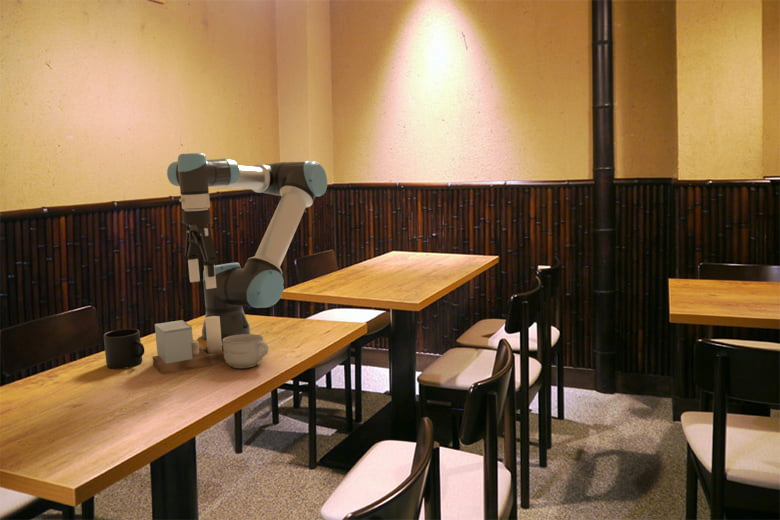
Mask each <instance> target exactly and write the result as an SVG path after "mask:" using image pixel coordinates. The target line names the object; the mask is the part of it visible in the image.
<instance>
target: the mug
mask: <svg viewBox="0 0 780 520" xmlns="http://www.w3.org/2000/svg"><path fill="white" fill-rule="evenodd" d="M103 343H104V344H103V345H104V353H105V364H106V367H107V368H109V369H113V370H118V369H119V370H123V369H129V368H132V367H136V366H138V365H141V364H142V362H143V356H144V355H145V346H144V344H143V343H142V342H141V332H140V330H139V329H136V328H124V329H115V330H111V331H108V332H105V333H104V334H103Z"/></svg>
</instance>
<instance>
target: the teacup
mask: <svg viewBox="0 0 780 520" xmlns="http://www.w3.org/2000/svg"><path fill="white" fill-rule="evenodd" d="M222 345H223V350H224V358H225V361H226V362H225V363H227V364H228V365H229V366H231V367H232V368H234V369H249V368H252V367H253V368H254V367H256V366H257V365H258V363H260V362H261V361H262V359H263V358H264V357H266V356H267V354H268V353H269V346H268V345H269V344H267V342H266V341H264V336H262V335H260V334H254V333H253V334H251V333H250V334H242V335H234V336H229V337H225V338H224V339H223V341H222Z"/></svg>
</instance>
